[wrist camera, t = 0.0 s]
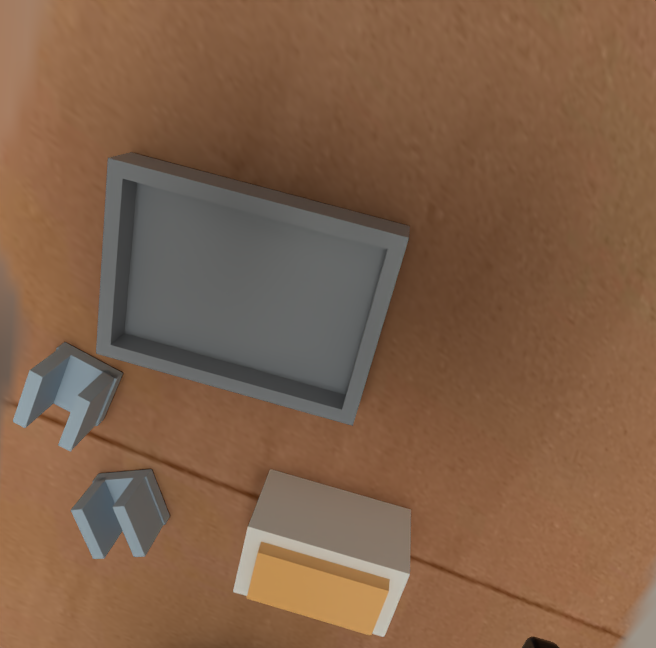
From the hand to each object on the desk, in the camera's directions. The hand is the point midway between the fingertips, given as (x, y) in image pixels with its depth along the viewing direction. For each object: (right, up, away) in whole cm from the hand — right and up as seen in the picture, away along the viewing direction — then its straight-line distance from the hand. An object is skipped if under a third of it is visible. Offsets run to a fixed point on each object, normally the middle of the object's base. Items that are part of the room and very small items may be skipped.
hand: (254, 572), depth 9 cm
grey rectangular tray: (-2, +6, +14) cm, 15 cm away
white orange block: (+1, -6, +19) cm, 20 cm away
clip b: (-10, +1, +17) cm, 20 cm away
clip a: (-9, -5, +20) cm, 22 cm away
